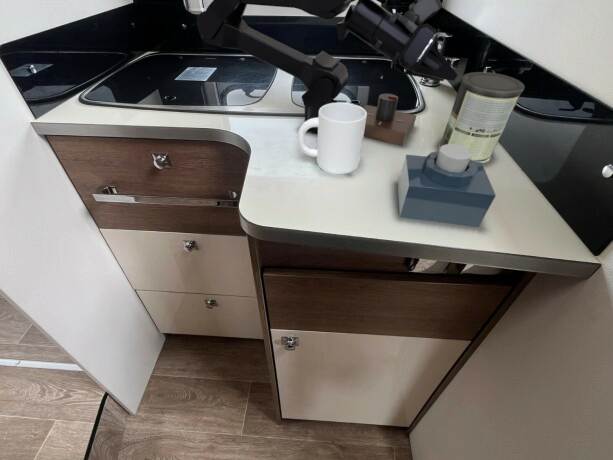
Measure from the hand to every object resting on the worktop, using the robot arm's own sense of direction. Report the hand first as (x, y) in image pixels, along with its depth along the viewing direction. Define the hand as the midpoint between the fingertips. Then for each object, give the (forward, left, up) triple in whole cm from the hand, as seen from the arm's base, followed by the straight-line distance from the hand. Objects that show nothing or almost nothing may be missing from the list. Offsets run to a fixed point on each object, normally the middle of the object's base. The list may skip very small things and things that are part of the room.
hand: (449, 78), depth 57 cm
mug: (-16, -16, -14) cm, 27 cm away
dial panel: (-11, +3, -14) cm, 18 cm away
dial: (-11, +3, -11) cm, 16 cm away
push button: (+5, -19, -6) cm, 20 cm away
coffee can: (+7, +2, -14) cm, 16 cm away
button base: (+5, -19, -14) cm, 24 cm away
